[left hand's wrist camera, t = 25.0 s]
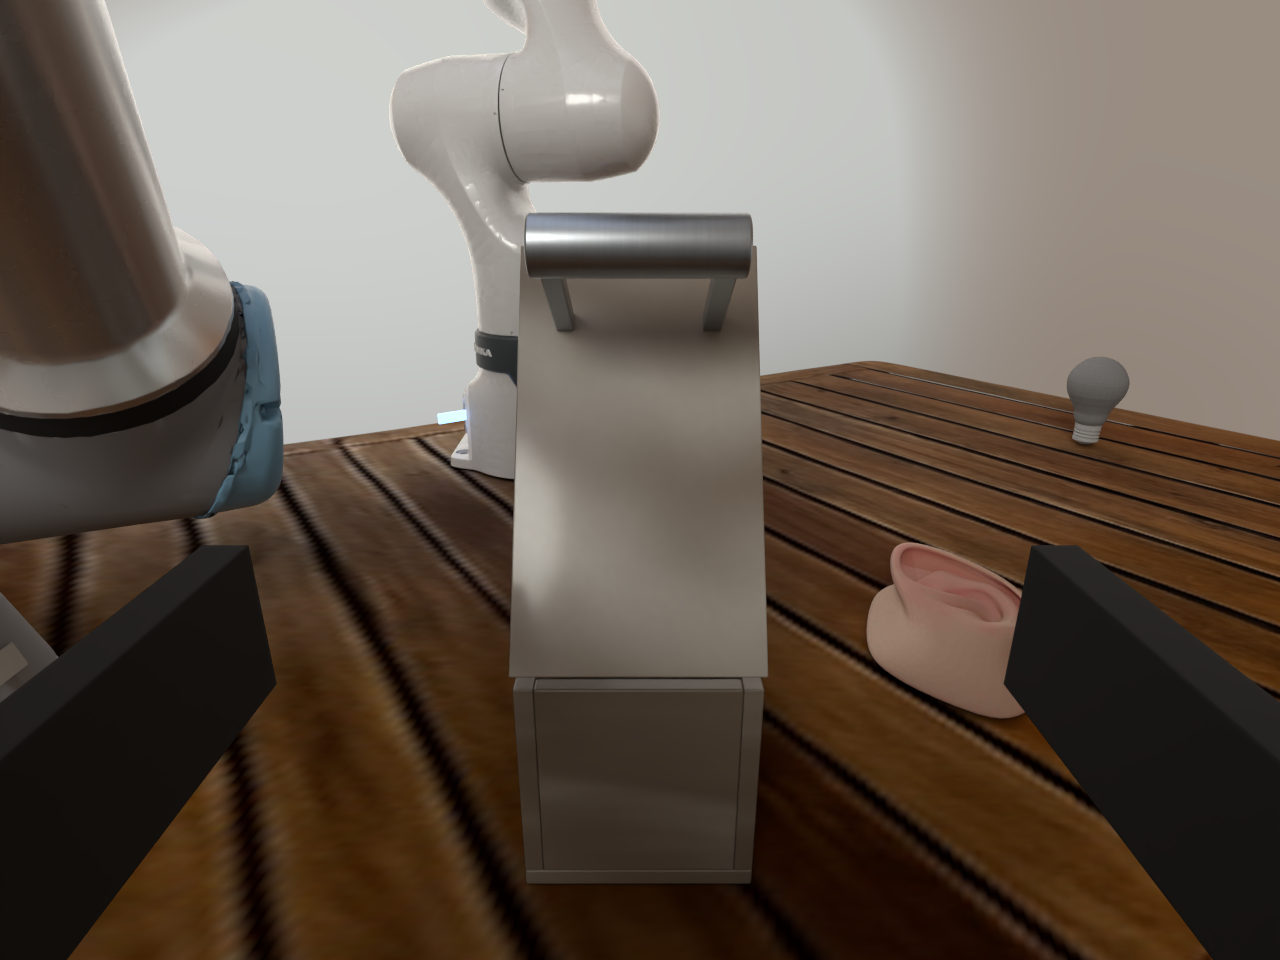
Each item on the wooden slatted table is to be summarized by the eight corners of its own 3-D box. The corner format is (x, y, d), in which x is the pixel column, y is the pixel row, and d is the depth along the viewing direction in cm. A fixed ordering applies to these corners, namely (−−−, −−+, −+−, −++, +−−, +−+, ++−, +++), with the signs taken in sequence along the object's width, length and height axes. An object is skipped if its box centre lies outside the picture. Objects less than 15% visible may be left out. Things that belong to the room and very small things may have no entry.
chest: (562, 664, 45) (556, 520, 41) (714, 664, 45) (720, 520, 41) (526, 884, 30) (512, 690, 27) (751, 884, 30) (764, 690, 27)
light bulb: (1064, 449, 83) (1082, 361, 80) (1048, 434, 89) (1065, 351, 85) (1122, 452, 82) (1144, 363, 79) (1103, 437, 88) (1122, 353, 84)
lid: (524, 258, 30) (482, 130, 22) (752, 258, 30) (794, 130, 22) (514, 674, 27) (460, 706, 19) (763, 674, 27) (816, 706, 19)
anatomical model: (1074, 674, 37) (843, 616, 42) (1059, 739, 38) (836, 676, 43) (1073, 566, 48) (889, 531, 53) (1060, 620, 49) (883, 581, 54)
